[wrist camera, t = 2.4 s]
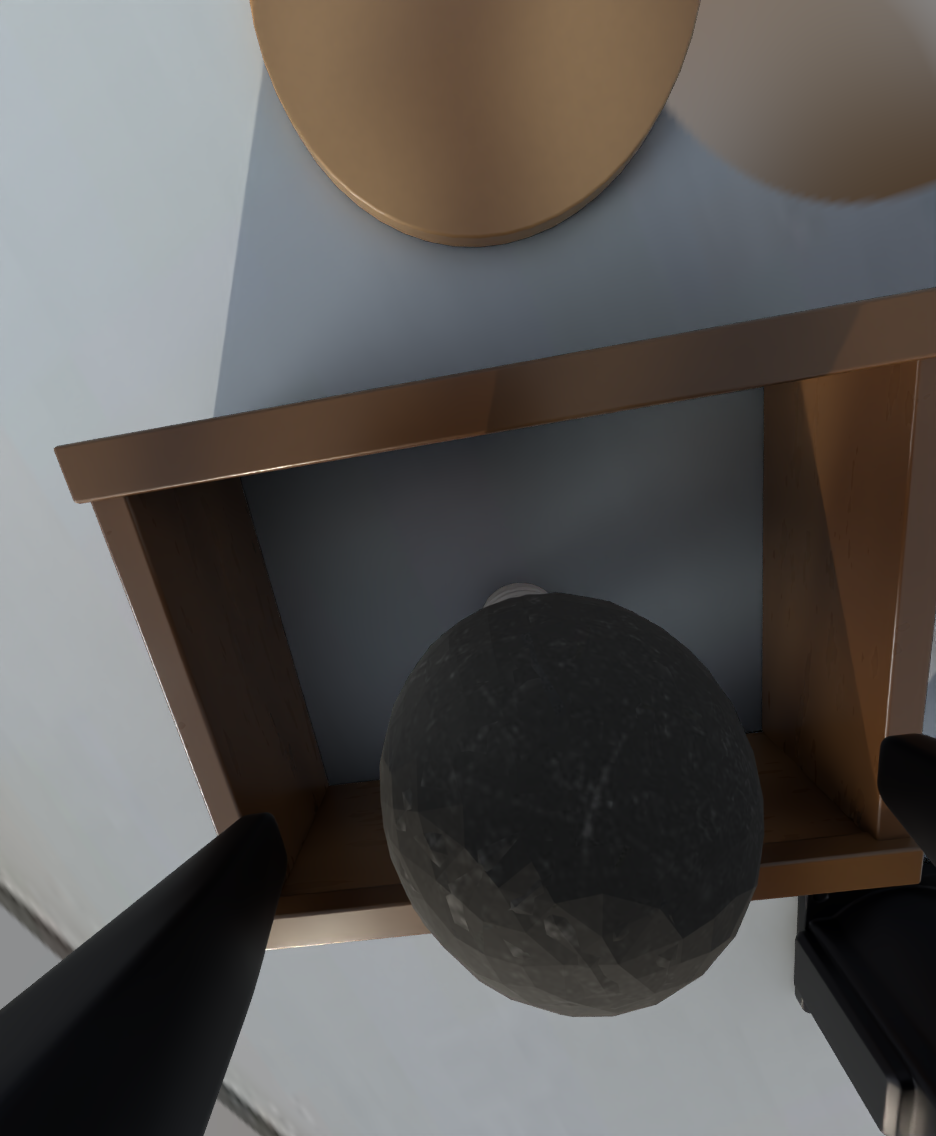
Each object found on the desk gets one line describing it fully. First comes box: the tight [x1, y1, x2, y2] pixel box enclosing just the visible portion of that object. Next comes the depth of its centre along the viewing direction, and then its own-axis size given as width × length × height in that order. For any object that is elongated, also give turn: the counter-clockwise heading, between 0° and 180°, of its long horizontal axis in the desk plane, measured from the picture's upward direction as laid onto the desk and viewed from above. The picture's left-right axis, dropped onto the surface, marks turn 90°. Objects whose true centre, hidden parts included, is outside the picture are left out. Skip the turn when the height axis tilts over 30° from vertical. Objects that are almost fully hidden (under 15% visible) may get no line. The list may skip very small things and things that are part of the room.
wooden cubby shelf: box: [54, 287, 936, 950], centre depth 12 cm, size 17×13×5 cm
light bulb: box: [380, 583, 764, 1017], centre depth 9 cm, size 6×6×10 cm
